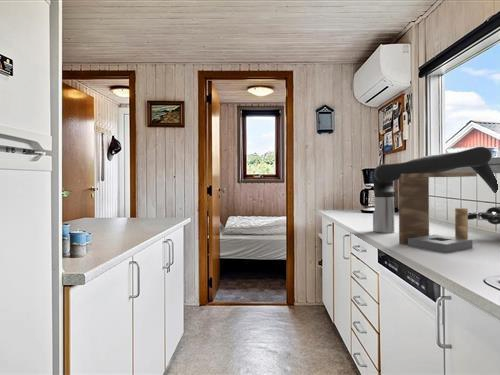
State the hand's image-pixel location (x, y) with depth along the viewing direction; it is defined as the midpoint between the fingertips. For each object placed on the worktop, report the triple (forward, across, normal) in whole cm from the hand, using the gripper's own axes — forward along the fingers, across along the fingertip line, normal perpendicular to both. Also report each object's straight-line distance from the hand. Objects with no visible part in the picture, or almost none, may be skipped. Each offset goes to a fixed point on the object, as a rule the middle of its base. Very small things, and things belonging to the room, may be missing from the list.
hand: (478, 217), depth 158 cm
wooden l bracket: (+24, -2, +9) cm, 26 cm away
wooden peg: (+12, 0, +9) cm, 15 cm away
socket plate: (+26, 0, +9) cm, 27 cm away
